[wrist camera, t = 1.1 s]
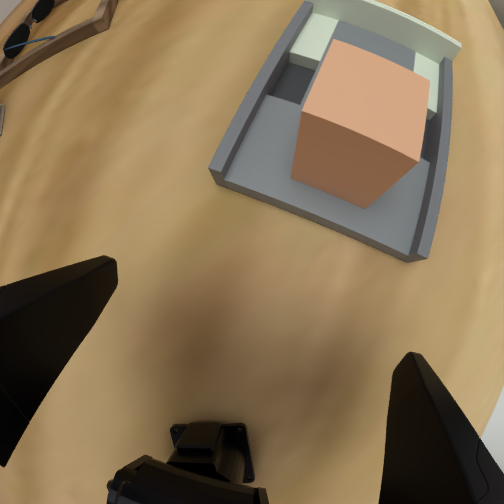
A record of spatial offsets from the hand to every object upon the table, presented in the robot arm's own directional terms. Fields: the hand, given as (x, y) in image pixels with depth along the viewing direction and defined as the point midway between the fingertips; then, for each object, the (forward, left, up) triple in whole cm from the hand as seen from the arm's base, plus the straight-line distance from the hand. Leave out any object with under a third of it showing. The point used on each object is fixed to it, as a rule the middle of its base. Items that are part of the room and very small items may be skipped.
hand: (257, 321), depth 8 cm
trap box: (+15, -10, -15) cm, 24 cm away
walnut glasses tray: (+48, +28, -15) cm, 57 cm away
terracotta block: (+10, -7, -13) cm, 17 cm away
